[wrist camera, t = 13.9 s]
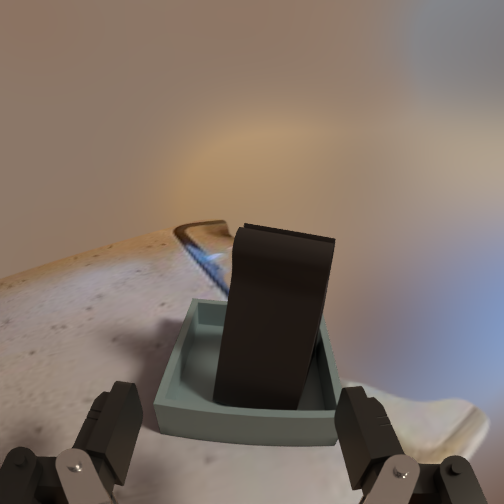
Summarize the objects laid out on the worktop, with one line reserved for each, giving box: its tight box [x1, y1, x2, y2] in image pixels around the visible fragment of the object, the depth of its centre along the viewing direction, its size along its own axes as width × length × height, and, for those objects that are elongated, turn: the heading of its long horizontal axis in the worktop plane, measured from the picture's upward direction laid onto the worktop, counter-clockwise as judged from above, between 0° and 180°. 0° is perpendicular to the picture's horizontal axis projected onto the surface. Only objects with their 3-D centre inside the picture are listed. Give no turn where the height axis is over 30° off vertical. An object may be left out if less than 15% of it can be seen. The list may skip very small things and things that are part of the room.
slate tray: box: [153, 299, 342, 446], centre depth 24 cm, size 12×13×4 cm
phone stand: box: [212, 223, 335, 411], centre depth 22 cm, size 9×6×12 cm, turn 161°
